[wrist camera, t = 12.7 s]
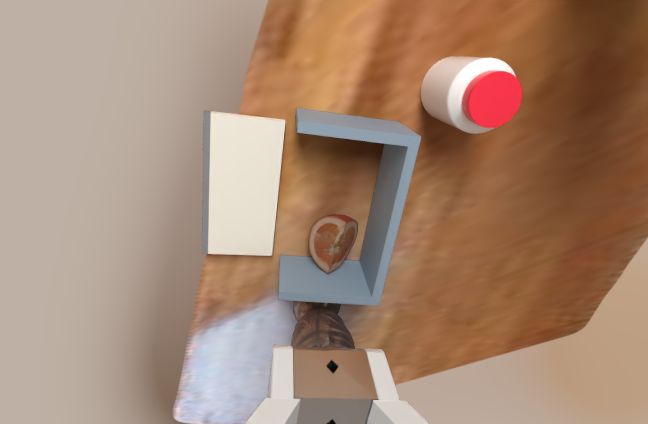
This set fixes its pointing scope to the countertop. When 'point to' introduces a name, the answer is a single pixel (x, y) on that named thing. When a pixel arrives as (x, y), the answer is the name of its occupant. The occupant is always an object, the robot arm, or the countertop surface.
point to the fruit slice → (332, 240)
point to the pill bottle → (471, 93)
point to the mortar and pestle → (320, 326)
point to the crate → (384, 218)
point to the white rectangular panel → (240, 183)
